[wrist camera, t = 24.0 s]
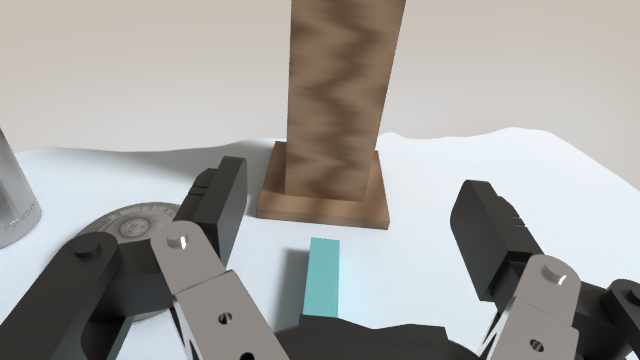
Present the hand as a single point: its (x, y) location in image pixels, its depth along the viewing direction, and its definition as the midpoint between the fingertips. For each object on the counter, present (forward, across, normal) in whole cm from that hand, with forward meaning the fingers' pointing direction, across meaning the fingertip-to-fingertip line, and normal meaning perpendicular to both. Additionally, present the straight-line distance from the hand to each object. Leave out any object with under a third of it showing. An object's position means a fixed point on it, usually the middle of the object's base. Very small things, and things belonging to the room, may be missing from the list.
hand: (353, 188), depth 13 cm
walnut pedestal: (+30, 0, -21) cm, 36 cm away
